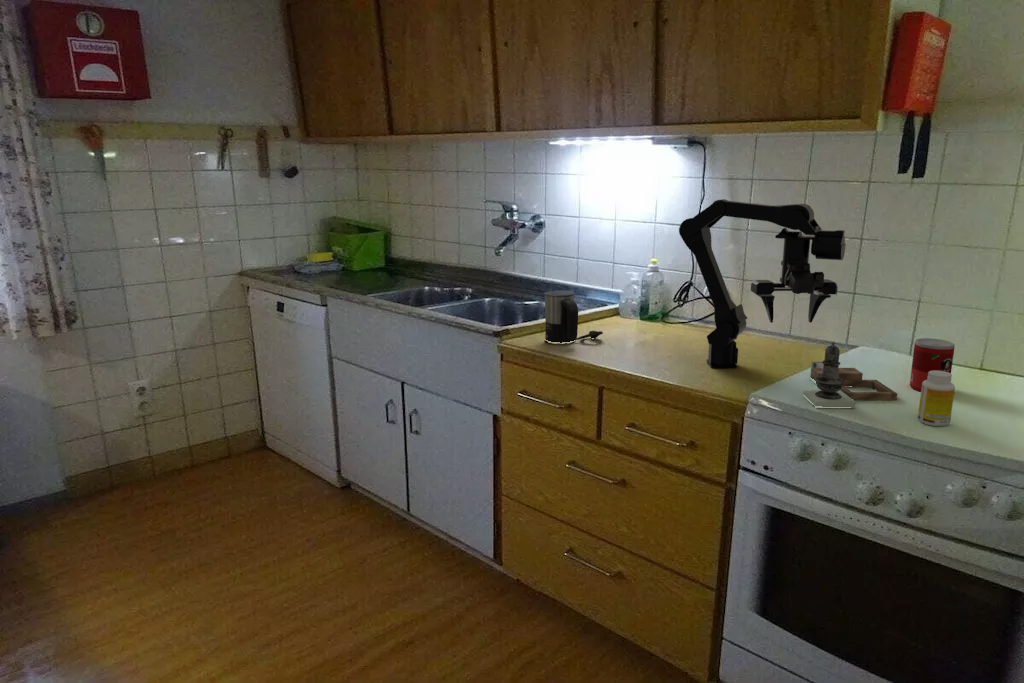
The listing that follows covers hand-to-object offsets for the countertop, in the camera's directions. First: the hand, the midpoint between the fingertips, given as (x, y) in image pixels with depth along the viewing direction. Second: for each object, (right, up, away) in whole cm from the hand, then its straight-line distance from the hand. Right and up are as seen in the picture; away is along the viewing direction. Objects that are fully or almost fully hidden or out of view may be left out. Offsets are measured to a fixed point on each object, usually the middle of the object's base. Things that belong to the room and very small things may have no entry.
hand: (790, 322), depth 172 cm
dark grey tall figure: (+1, -17, -18) cm, 25 cm away
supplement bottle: (+16, -21, -31) cm, 41 cm away
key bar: (+8, -13, 0) cm, 16 cm away
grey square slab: (+1, -18, -18) cm, 26 cm away
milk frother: (-49, -5, +39) cm, 63 cm away
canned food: (+27, -16, -10) cm, 33 cm away
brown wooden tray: (+10, -16, -10) cm, 21 cm away
